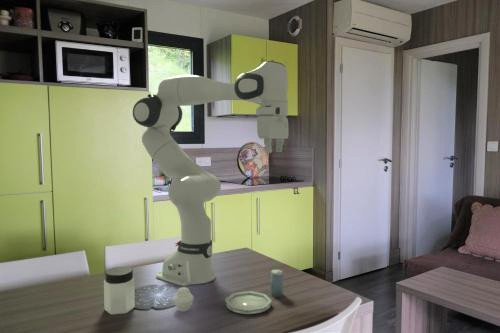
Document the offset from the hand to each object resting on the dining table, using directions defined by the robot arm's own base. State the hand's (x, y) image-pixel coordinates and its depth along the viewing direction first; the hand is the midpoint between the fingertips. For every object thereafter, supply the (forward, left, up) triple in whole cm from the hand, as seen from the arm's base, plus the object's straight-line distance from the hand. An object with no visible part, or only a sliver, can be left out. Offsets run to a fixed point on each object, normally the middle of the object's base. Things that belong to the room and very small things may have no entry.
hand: (273, 152), depth 134 cm
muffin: (-20, -25, -48) cm, 58 cm away
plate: (-3, -14, -48) cm, 50 cm away
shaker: (+2, -2, -48) cm, 48 cm away
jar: (-38, -33, -48) cm, 69 cm away
